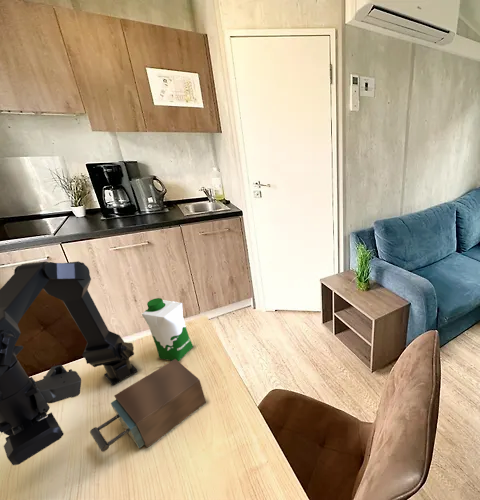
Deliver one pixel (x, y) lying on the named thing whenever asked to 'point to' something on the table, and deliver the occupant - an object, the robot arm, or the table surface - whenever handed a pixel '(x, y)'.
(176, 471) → the table surface
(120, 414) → the drawer
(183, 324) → the milk carton
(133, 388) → the cabinet
